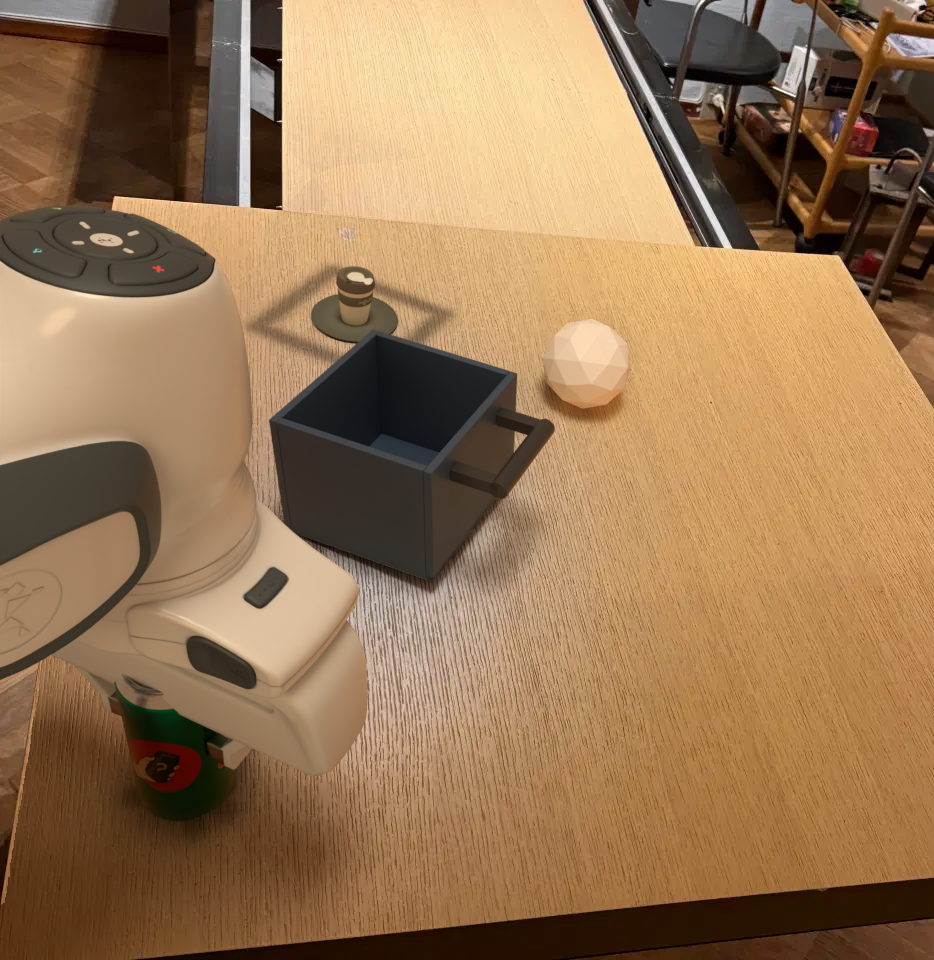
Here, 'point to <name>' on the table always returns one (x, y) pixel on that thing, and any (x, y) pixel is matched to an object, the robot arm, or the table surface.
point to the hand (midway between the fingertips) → (180, 730)
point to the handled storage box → (401, 452)
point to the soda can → (170, 756)
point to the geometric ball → (587, 363)
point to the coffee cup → (353, 308)
